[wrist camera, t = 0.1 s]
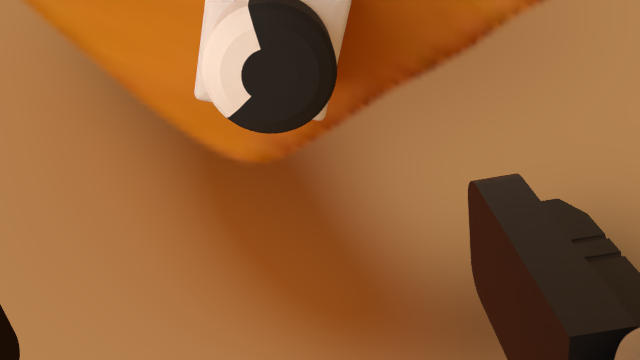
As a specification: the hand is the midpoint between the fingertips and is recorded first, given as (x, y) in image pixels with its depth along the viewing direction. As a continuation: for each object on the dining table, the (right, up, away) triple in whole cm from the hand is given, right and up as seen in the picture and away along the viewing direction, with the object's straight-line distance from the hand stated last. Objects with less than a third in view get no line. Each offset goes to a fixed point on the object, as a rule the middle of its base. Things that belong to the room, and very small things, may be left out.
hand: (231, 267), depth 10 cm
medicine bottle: (-1, +12, +27) cm, 29 cm away
